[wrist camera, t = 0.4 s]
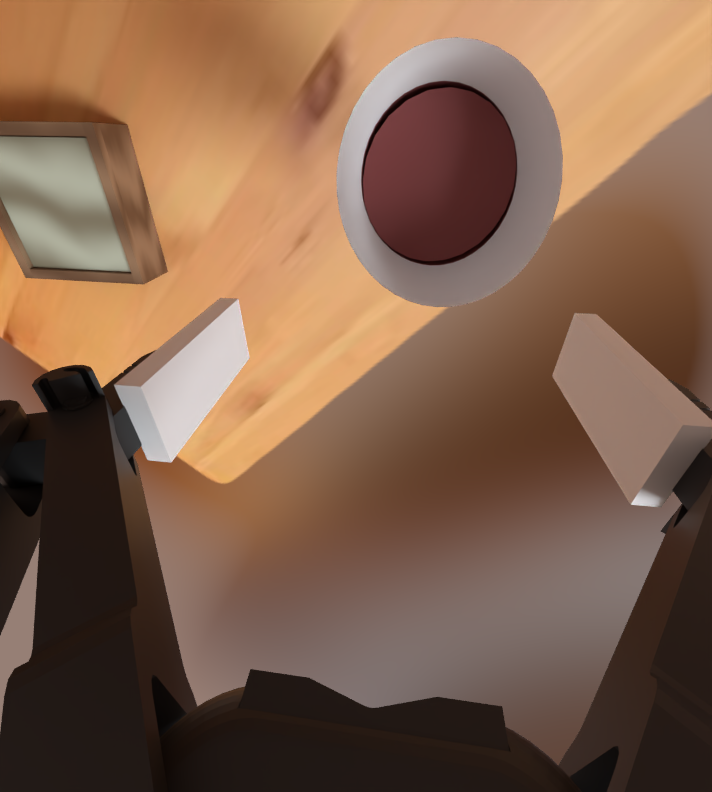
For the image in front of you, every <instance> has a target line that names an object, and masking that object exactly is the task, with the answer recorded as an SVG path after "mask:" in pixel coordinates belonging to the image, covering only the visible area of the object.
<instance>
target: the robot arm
mask: <svg viewBox="0 0 712 792" xmlns="http://www.w3.org/2000/svg"><path fill="white" fill-rule="evenodd" d="M248 359H249V353H248V347H247V342H246V337H245V332H244V326H243V321H242V316H241V311H240V305H239V300H238V299H233V298H220V299H219V300H217V301H216V302H215V303H214V304H212V305H211V306H210V307H209V308H207V309H206V310H205V311H204V312H203V313H201V314H200V315H199V316H198V317H196V318H195V319H194V320H193V321H192V322H190V323H189V324H188V325H187V326H185V327H184V328H183V329H182V330H181V331H179V332H178V333H177V334H176V335H174V336H173V337H172V338H171V339H169V340H168V341H167V342H166V343H165V344H163V345H162V346H161V347H160V348H158V349H157V350H155V351H153V352H151V353H149V354H146V355H144V356H142V357H141V358H139V359H138V360H137V361H136V362H134V363H133V364H132V366H129V367H128V368H127V369H126V370H124V373H121V374H119V375H118V376H117V377H116V378H114V379H113V380H112V381H111V382H109V383H108V384H107V385H105V386H104V387H103V388H101V386H100V384H99V382H98V380H97V378H96V376H95V374H94V372H93V370H92V369H91V367H88V366H85V365H72V366H66V367H62V368H58V369H55V370H52V371H50V372H47V373H45V374H43V375H42V376H40V377H39V378H37V379H36V380H35V381H34V383H33V384H32V386H33V388H34V390H35V391H36V393H37V394H38V396H39V398H40V399H41V401H42V403H43V404H44V406H45V407H46V409H47V411H48V412H42V413H35V414H26V413H25V412H24V410H23V409H22V408H21V406H20V404H19V403H18V402H17V401H12V400H3V401H0V635H1V632H2V630H3V627H4V625H5V623H6V620H7V618H8V615H9V612H10V610H11V608H12V605H13V603H14V600H15V598H16V595H17V593H18V590H19V588H20V585H21V582H22V580H23V578H24V575H25V573H26V570H27V568H28V565H29V563H30V560H31V558H32V556H33V553H34V551H35V548H36V546H37V543H38V540H39V538H40V542H39V557H38V573H37V589H36V605H35V620H34V637H33V650H32V655H31V658H30V660H29V662H27V663H25V664H23V665H21V666H19V667H17V668H15V669H14V671H13V672H12V674H11V676H10V677H9V679H8V682H7V687H6V692H5V696H4V704H3V713H2V722H1V732H0V792H712V411H710V408H709V407H707V406H706V405H705V404H704V403H703V402H700V400H699V399H698V398H697V397H696V396H695V395H694V394H693V393H692V392H690V391H689V390H688V389H687V388H685V387H683V386H681V385H679V384H677V383H675V382H674V381H672V380H670V379H666V378H665V377H664V376H663V375H662V374H661V373H660V372H659V371H657V369H655V368H654V367H653V366H652V365H651V364H650V363H649V362H648V361H647V360H646V359H644V358H643V357H642V356H641V355H640V354H639V353H638V352H637V351H636V350H635V349H634V348H633V347H631V346H630V345H629V344H628V343H627V342H626V341H625V340H624V339H623V338H622V337H621V336H619V335H618V334H617V333H616V332H615V331H614V330H613V329H612V328H611V327H610V326H609V325H607V324H606V323H605V322H604V321H603V320H602V319H601V318H600V317H599V316H598V315H597V314H580V313H575V314H574V317H573V320H572V322H571V325H570V328H569V331H568V333H567V336H566V339H565V342H564V345H563V348H562V350H561V353H560V356H559V359H558V361H557V364H556V367H555V370H554V373H553V378H554V380H555V381H556V383H557V384H558V386H559V388H560V390H561V391H562V393H563V395H564V396H565V398H566V399H567V401H568V403H569V404H570V406H571V408H572V409H573V411H574V413H575V414H576V416H577V417H578V419H579V421H580V422H581V424H582V426H583V427H584V429H585V430H586V432H587V434H588V435H589V437H590V439H591V440H592V442H593V444H594V445H595V447H596V449H597V450H598V452H599V454H600V455H601V457H602V458H603V460H604V462H605V463H606V465H607V467H608V468H609V470H610V471H611V473H612V475H613V476H614V478H615V480H616V481H617V483H618V485H619V486H620V488H621V489H622V491H623V493H624V494H625V496H626V498H627V499H628V501H629V503H630V504H631V505H641V506H652V507H662V506H663V504H664V503H665V501H666V500H667V499H668V497H669V496H670V495H671V493H672V492H674V493H675V494H676V496H677V497H678V498H679V500H680V501H681V502H682V504H681V506H680V507H679V508H678V510H677V511H676V512H675V514H674V515H673V516H672V517H671V518H670V520H669V521H668V522H667V524H666V525H665V526H664V527H663V529H662V530H661V532H663V533H665V537H664V539H663V542H662V544H661V546H660V548H659V550H658V553H657V555H656V557H655V560H654V562H653V564H652V567H651V569H650V571H649V573H648V576H647V578H646V580H645V583H644V585H643V587H642V590H641V592H640V594H639V597H638V599H637V601H636V603H635V606H634V608H633V610H632V613H631V615H630V617H629V619H628V622H627V624H626V627H625V629H624V631H623V633H622V635H621V638H620V640H619V642H618V645H617V647H616V649H615V652H614V654H613V656H612V658H611V661H610V663H609V666H608V668H607V670H606V672H605V675H604V677H603V679H602V681H601V684H600V686H599V688H598V691H597V693H596V695H595V698H594V700H593V702H592V704H591V707H590V709H589V711H588V714H587V716H586V718H585V721H584V723H583V725H582V727H581V729H580V731H579V733H578V735H577V737H576V738H575V740H574V741H573V743H572V744H571V746H570V747H569V749H568V750H567V752H566V753H565V755H564V757H563V758H562V760H561V762H560V764H559V766H558V765H557V764H556V763H555V762H554V761H553V760H552V759H551V758H550V757H549V756H548V755H546V754H545V753H544V752H543V751H541V750H540V749H539V748H538V747H536V746H535V745H534V744H533V743H531V742H530V741H529V740H527V739H525V738H524V737H522V736H521V735H519V734H518V733H516V732H515V731H513V730H511V729H509V728H507V727H505V721H504V716H503V709H502V706H495V705H488V704H481V703H474V702H467V701H461V700H455V699H447V698H441V697H434V698H429V699H424V700H418V701H412V702H406V703H401V704H395V705H390V706H384V707H379V708H369V707H366V706H363V705H361V704H359V703H357V702H355V701H354V700H352V699H350V698H348V697H346V696H344V695H342V694H340V693H338V692H336V691H334V690H332V689H330V688H328V687H326V686H324V685H322V684H320V683H318V682H316V681H314V680H312V679H310V678H307V677H300V676H293V675H287V674H280V673H273V672H266V671H259V670H253V669H251V670H250V673H249V676H248V679H247V682H246V686H245V687H241V688H237V689H234V690H231V691H228V692H225V693H222V694H220V695H218V696H216V697H214V698H212V699H210V700H208V701H206V702H204V703H203V704H201V705H199V706H198V707H197V704H196V701H195V698H194V695H193V692H192V690H191V687H190V685H189V682H188V680H187V677H186V674H185V670H184V667H183V663H182V659H181V654H180V650H179V645H178V641H177V636H176V632H175V627H174V623H173V619H172V614H171V610H170V605H169V601H168V596H167V592H166V588H165V583H164V579H163V574H162V570H161V566H160V561H159V557H158V552H157V548H156V544H155V539H154V535H153V530H152V526H151V522H150V517H149V513H148V509H147V504H146V500H145V495H144V491H143V487H142V482H141V478H140V473H139V469H138V465H137V462H136V460H135V458H134V455H133V454H134V453H135V452H136V451H137V450H138V449H139V448H140V447H141V446H142V448H143V451H144V453H145V455H146V457H147V460H151V461H162V462H172V461H173V459H174V458H175V457H176V455H177V454H178V453H179V451H180V450H181V449H182V447H183V446H184V445H185V443H186V442H187V441H188V439H189V438H190V437H191V435H192V434H193V433H194V431H195V430H196V429H197V427H198V426H199V425H200V423H201V422H202V421H203V419H204V418H205V417H206V415H207V414H208V413H209V411H210V410H211V409H212V407H213V406H214V405H215V403H216V402H217V401H218V399H219V398H220V397H221V395H222V394H223V393H224V391H225V390H226V389H227V387H228V386H229V385H230V383H231V382H232V381H233V379H234V378H235V377H236V375H237V374H238V373H239V371H240V370H241V369H242V367H243V366H244V365H245V363H246V362H247V361H248Z"/></svg>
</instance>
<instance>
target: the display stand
mask: <svg viewBox="0 0 712 792" xmlns="http://www.w3.org/2000/svg"><path fill="white" fill-rule="evenodd" d="M0 227H1V229H2V231H3V233H4V235H5V237H6V239H7V241H8V243H9V245H10V247H11V249H12V251H13V253H14V255H15V257H16V259H17V261H18V263H19V265H20V267H21V269H22V271H23V273H24V275H25V277H26V278H38V279H56V280H74V281H92V282H110V283H129V284H145V283H147V282H149V281H151V280H153V279H155V278H157V277H159V276H160V275H162V274H164V273H166V272H168V271H167V267H166V263H165V260H164V256H163V253H162V249H161V245H160V242H159V238H158V234H157V231H156V227H155V224H154V220H153V216H152V213H151V209H150V205H149V202H148V198H147V195H146V191H145V187H144V184H143V180H142V176H141V173H140V169H139V166H138V162H137V158H136V155H135V151H134V148H133V144H132V140H131V137H130V133H129V129H128V126H127V125H123V124H108V123H94V122H19V121H0Z"/></svg>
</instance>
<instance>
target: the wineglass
mask: <svg viewBox="0 0 712 792" xmlns="http://www.w3.org/2000/svg"><path fill="white" fill-rule="evenodd" d="M562 162H563V155H562V147H561V138H560V132H559V129H558V125H557V121H556V118H555V114H554V111H553V109H552V107H551V105H550V102H549V100H548V98H547V96H546V94H545V92H544V90H543V89H542V87H541V86H540V84H539V83H538V82H537V80H536V79H535V77H534V76H533V74H532V73H531V72H530V71H529V70H528V69H527V68H526V67H525V66H524V65H523V64H522V63H521V62H519V61H518V60H517V59H516V58H515V57H513V56H512V55H510V54H509V53H507V52H505V51H504V50H502V49H501V48H499V47H497V46H494V45H491V44H489V43H486V42H483V41H480V40H476V39H467V38H458V37H455V38H446V39H437V40H433V41H430V42H427V43H424V44H421V45H418V46H415V47H414V48H412V49H410V50H408V51H407V52H405V53H403V54H402V55H400V56H398V57H396V58H395V59H394V60H393V61H392V62H390V63H389V64H388V65H387V66H386V67H385V68H383V69H382V70H381V71H380V72H379V73H378V74H377V75H376V77H375V78H374V79H373V80H372V81H371V83H370V84H369V85H368V86H367V87H366V89H365V90H364V92H363V93H362V95H361V97H360V98H359V100H358V102H357V103H356V105H355V107H354V109H353V111H352V113H351V116H350V118H349V120H348V123H347V125H346V128H345V131H344V134H343V138H342V142H341V146H340V150H339V157H338V165H337V197H338V204H339V212H340V215H341V219H342V223H343V226H344V230H345V232H346V235H347V237H348V240H349V242H350V244H351V247H352V248H353V250H354V252H355V254H356V255H357V257H358V259H359V260H360V262H361V263H362V264H363V266H364V267H365V268H366V270H367V271H368V272H369V273H370V275H372V276H373V277H374V278H375V279H376V280H377V281H378V282H379V283H380V284H381V285H382V286H384V287H385V288H387V289H388V290H389V291H391V292H392V293H394V294H395V295H397V296H400V297H402V298H404V299H406V300H408V301H411V302H414V303H417V304H421V305H426V306H433V307H453V306H459V305H464V304H468V303H471V302H474V301H477V300H480V299H482V298H484V297H486V296H488V295H490V294H492V293H494V292H496V291H497V290H499V289H500V288H502V287H503V286H505V285H506V284H507V283H509V282H510V281H511V280H512V279H513V278H514V277H515V276H516V275H517V274H518V273H520V271H522V270H523V268H524V267H525V266H526V265H527V263H528V262H529V261H530V260H531V258H532V257H533V256H534V255H535V253H536V252H537V250H538V248H539V247H540V245H541V243H542V242H543V240H544V238H545V236H546V234H547V232H548V229H549V227H550V225H551V223H552V221H553V217H554V214H555V211H556V207H557V204H558V201H559V195H560V189H561V182H562Z"/></svg>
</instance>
